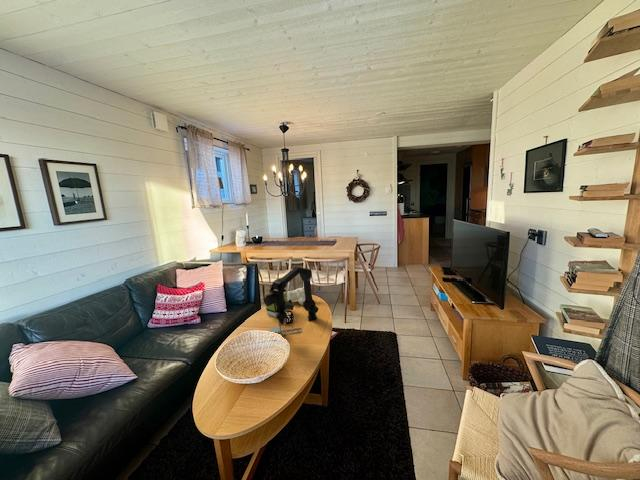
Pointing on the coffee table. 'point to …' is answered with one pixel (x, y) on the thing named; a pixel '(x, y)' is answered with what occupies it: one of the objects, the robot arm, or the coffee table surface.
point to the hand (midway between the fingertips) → (282, 322)
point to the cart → (275, 329)
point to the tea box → (272, 308)
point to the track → (291, 331)
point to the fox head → (297, 295)
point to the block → (283, 323)
